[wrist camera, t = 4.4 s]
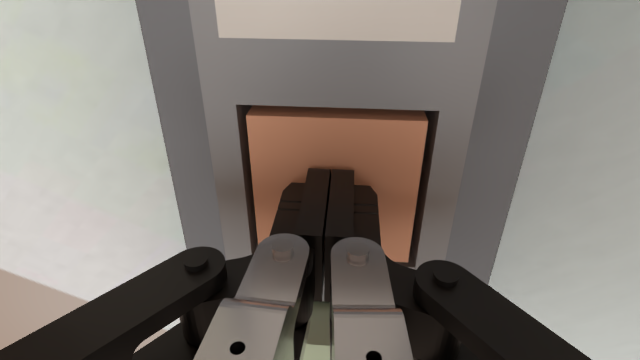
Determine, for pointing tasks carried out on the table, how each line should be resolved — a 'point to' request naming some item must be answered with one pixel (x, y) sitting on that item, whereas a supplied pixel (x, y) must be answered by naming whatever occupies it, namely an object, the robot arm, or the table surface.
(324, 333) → the button sage
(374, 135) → the button terracotta
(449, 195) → the console
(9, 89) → the table surface
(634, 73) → the table surface
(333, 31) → the button cream
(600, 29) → the table surface
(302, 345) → the robot arm
